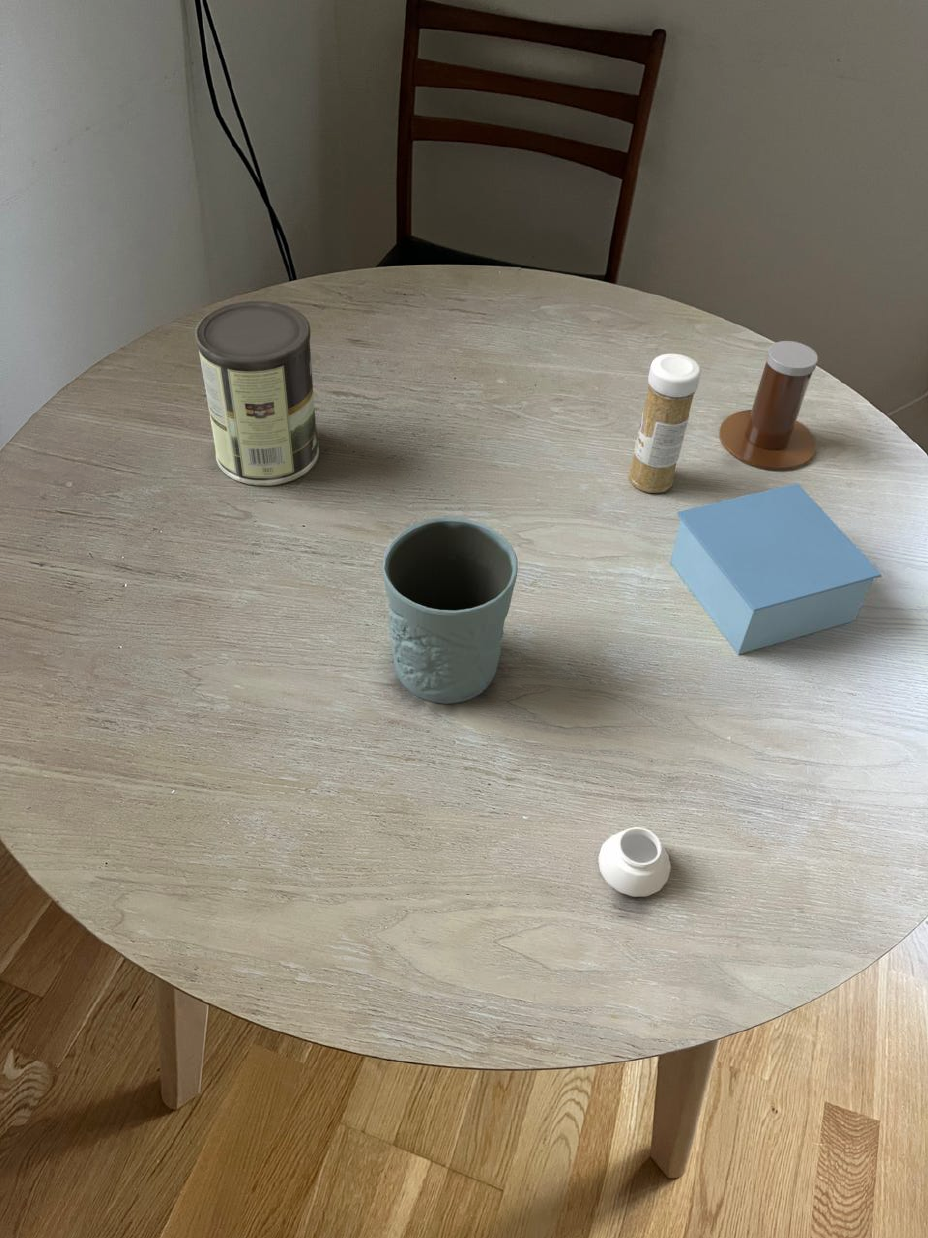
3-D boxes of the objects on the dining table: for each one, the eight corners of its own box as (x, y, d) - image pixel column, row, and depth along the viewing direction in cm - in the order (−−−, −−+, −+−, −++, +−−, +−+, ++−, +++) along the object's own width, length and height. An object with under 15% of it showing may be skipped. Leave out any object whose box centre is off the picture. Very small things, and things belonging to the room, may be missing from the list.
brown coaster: (780, 405, 114) (781, 402, 114) (834, 459, 108) (835, 456, 107) (701, 422, 111) (702, 419, 111) (751, 479, 105) (752, 475, 105)
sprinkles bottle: (626, 465, 105) (649, 349, 96) (671, 467, 106) (699, 352, 96) (629, 494, 102) (653, 378, 93) (675, 497, 102) (704, 381, 93)
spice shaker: (773, 419, 111) (800, 337, 104) (799, 445, 108) (828, 362, 101) (735, 427, 110) (759, 344, 103) (760, 454, 107) (786, 371, 100)
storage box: (779, 531, 100) (797, 482, 95) (859, 622, 92) (882, 574, 87) (664, 560, 96) (677, 511, 92) (736, 658, 88) (754, 609, 84)
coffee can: (288, 411, 109) (276, 288, 99) (337, 464, 103) (331, 340, 93) (197, 443, 105) (175, 318, 94) (243, 500, 99) (225, 373, 89)
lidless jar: (593, 837, 76) (603, 900, 72) (599, 815, 73) (609, 879, 70) (661, 836, 76) (674, 898, 73) (668, 814, 74) (682, 877, 70)
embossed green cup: (490, 614, 90) (500, 510, 82) (519, 705, 84) (533, 601, 75) (375, 629, 89) (372, 524, 80) (395, 723, 82) (394, 619, 73)
